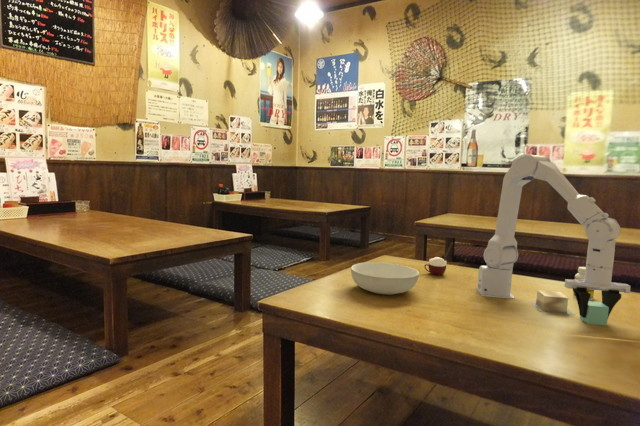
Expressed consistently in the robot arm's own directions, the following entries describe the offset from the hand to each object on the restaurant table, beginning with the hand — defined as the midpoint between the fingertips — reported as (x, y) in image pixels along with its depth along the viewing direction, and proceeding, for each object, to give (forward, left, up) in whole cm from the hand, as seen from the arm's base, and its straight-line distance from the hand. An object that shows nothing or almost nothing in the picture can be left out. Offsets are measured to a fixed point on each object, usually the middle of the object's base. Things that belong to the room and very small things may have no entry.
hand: (593, 317), depth 108 cm
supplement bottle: (+7, +23, -2) cm, 24 cm away
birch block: (-7, +9, -1) cm, 11 cm away
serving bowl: (-54, +13, -2) cm, 56 cm away
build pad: (-7, +9, -1) cm, 11 cm away
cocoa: (-35, +40, -2) cm, 53 cm away
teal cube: (0, 0, -1) cm, 1 cm away
